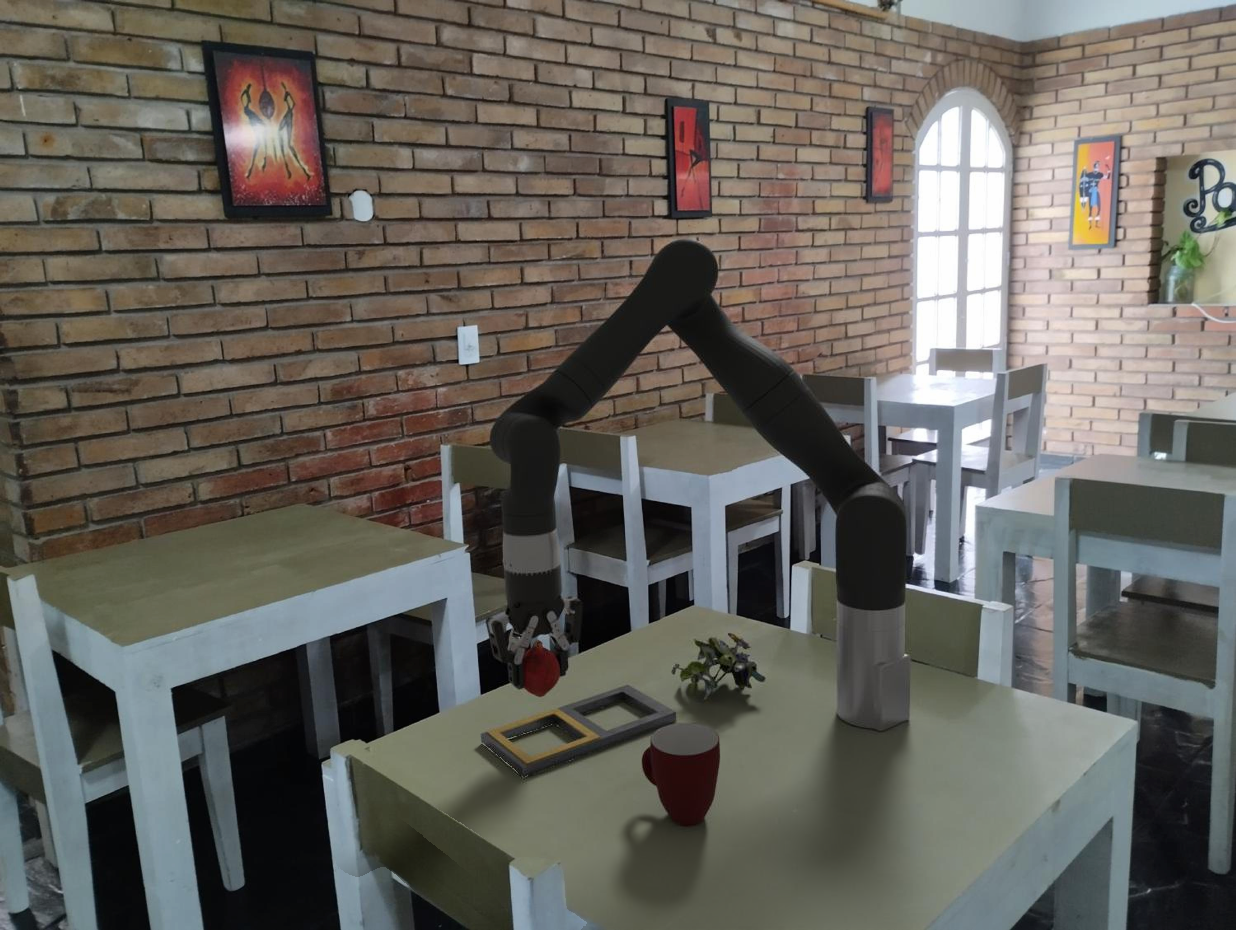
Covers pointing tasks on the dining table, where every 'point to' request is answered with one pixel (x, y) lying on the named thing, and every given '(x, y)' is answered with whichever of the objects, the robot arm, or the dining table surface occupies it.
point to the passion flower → (727, 660)
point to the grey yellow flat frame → (577, 729)
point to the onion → (540, 670)
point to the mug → (684, 769)
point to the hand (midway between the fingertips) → (539, 680)
